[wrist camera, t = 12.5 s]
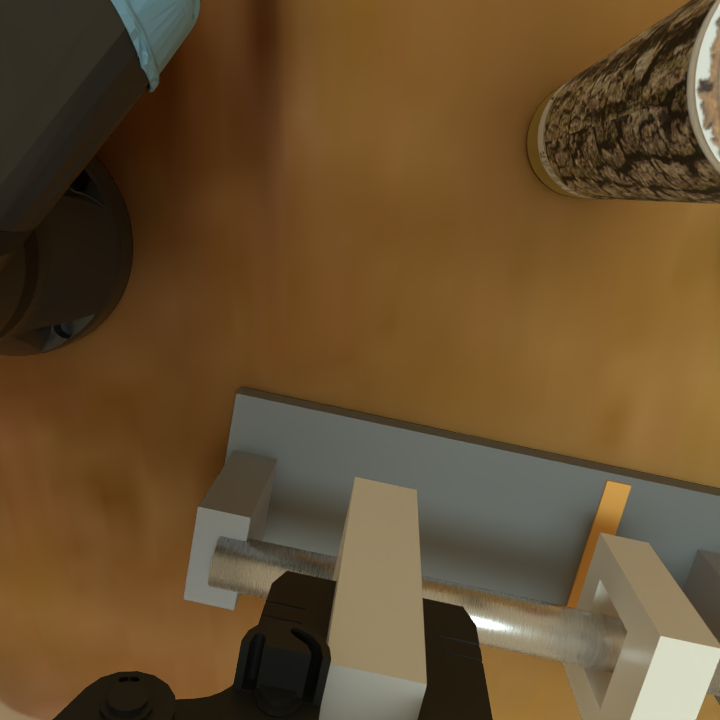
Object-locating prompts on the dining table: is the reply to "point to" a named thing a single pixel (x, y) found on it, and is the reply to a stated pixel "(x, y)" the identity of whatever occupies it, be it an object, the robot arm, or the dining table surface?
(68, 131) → the robot arm
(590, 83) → the wooden log
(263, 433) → the pipe stand
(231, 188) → the dining table surface
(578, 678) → the collar
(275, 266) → the dining table surface
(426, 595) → the pipe
